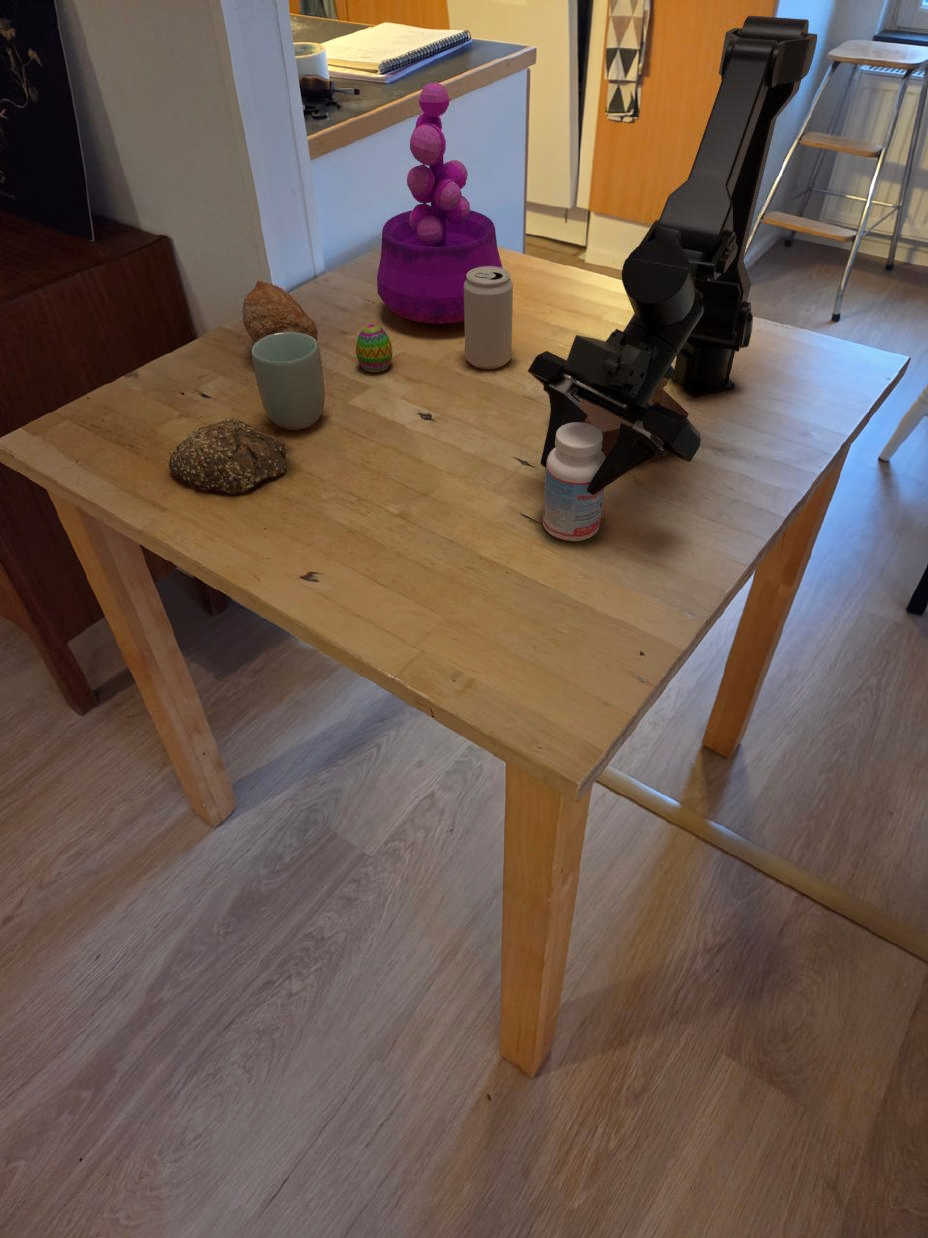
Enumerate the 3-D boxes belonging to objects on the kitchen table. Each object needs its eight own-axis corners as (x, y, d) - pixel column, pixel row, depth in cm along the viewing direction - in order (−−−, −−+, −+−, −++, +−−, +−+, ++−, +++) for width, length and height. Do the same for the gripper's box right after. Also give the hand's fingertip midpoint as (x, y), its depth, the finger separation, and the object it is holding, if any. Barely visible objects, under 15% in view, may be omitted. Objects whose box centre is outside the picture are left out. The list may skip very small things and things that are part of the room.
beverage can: (507, 373, 114) (509, 285, 106) (460, 369, 115) (459, 282, 107) (514, 351, 119) (517, 265, 110) (469, 348, 120) (468, 262, 111)
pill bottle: (584, 550, 87) (594, 458, 79) (532, 531, 90) (537, 440, 82) (609, 519, 91) (621, 428, 83) (558, 502, 93) (565, 411, 85)
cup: (340, 412, 108) (330, 338, 101) (307, 443, 102) (294, 367, 96) (288, 400, 110) (275, 326, 103) (253, 429, 105) (237, 354, 98)
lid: (639, 371, 104) (643, 340, 101) (688, 417, 96) (694, 385, 94) (556, 388, 102) (558, 357, 99) (599, 437, 94) (603, 405, 91)
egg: (364, 378, 114) (360, 336, 110) (353, 362, 117) (348, 321, 113) (398, 371, 115) (395, 328, 111) (386, 355, 118) (382, 314, 114)
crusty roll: (310, 331, 124) (300, 262, 117) (326, 370, 116) (316, 298, 109) (245, 340, 122) (231, 271, 115) (256, 381, 114) (241, 309, 107)
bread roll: (156, 473, 98) (144, 436, 95) (233, 426, 106) (225, 389, 102) (235, 510, 93) (225, 472, 90) (310, 457, 100) (304, 420, 97)
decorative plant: (504, 340, 121) (508, 100, 100) (375, 341, 122) (352, 102, 101) (501, 285, 135) (505, 64, 114) (385, 286, 135) (367, 66, 114)
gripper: (545, 270, 81) (461, 414, 83) (705, 335, 71) (604, 496, 73) (593, 324, 90) (515, 451, 93) (740, 388, 80) (649, 529, 83)
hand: (566, 479), depth 85 cm, fingers closed on pill bottle, 6 cm apart
